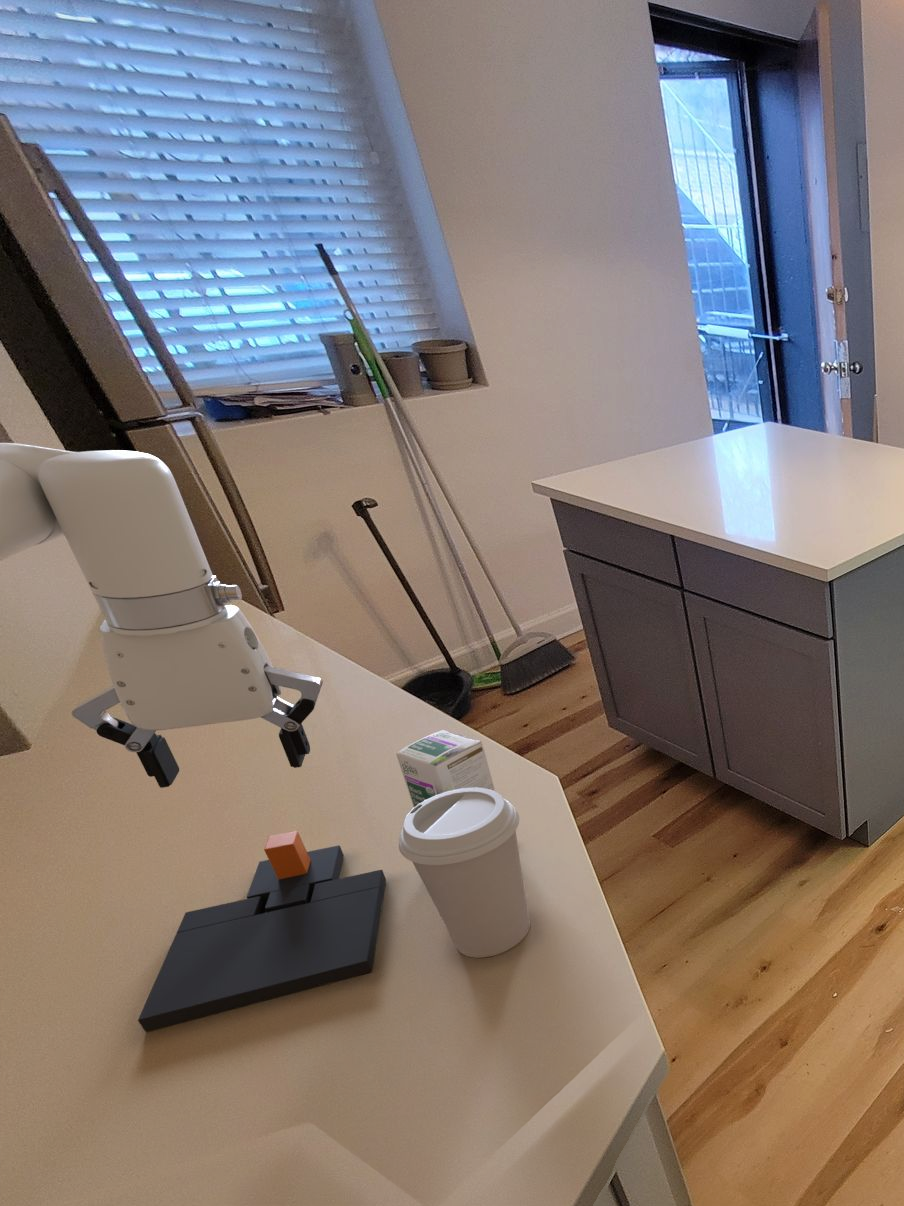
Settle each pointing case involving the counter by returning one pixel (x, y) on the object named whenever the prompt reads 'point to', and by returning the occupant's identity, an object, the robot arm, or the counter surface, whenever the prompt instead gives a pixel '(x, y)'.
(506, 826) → the coffee cup
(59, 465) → the robot arm
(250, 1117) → the counter surface
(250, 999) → the notch pad
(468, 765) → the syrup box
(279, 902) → the pad
